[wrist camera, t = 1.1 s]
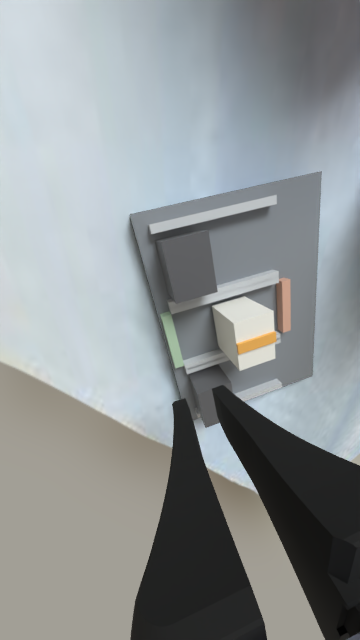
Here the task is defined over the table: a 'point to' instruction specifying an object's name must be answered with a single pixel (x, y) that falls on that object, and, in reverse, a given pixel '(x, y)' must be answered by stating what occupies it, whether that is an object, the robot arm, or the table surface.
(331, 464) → the robot arm
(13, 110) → the table surface
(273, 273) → the breaker board
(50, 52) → the table surface
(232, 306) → the handle
